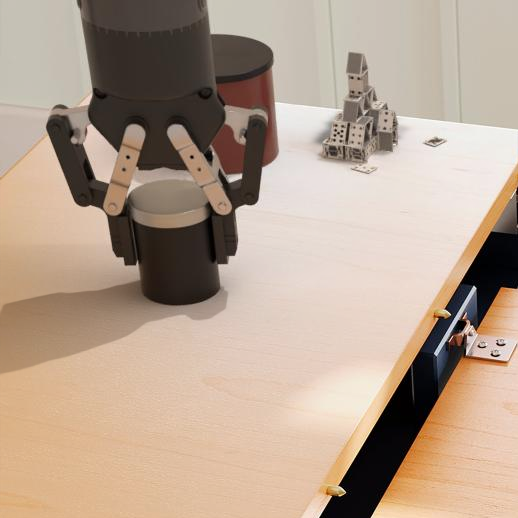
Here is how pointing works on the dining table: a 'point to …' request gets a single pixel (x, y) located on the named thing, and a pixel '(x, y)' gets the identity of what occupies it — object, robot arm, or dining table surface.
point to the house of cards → (363, 121)
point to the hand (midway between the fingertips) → (177, 259)
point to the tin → (243, 93)
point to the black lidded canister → (174, 242)
